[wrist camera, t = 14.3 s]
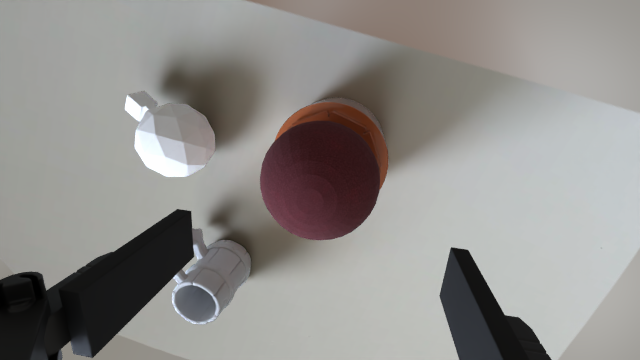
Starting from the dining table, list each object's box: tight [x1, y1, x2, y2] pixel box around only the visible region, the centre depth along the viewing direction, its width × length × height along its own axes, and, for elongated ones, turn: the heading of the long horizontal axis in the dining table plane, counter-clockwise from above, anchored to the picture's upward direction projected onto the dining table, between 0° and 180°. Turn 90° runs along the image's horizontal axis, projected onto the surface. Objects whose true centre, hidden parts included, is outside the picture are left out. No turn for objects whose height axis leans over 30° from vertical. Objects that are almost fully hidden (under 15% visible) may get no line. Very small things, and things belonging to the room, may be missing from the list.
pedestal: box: [275, 97, 388, 190], centre depth 35 cm, size 12×12×10 cm
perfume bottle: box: [125, 91, 215, 177], centre depth 38 cm, size 9×9×12 cm
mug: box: [172, 229, 251, 324], centre depth 41 cm, size 8×12×12 cm, turn 34°
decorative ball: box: [260, 120, 380, 240], centre depth 26 cm, size 10×10×10 cm
